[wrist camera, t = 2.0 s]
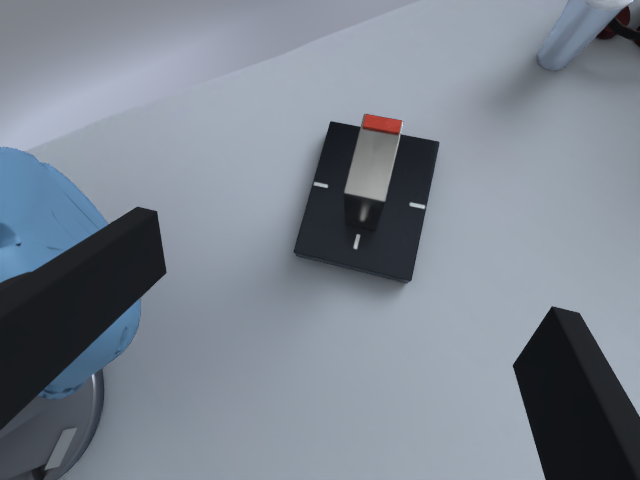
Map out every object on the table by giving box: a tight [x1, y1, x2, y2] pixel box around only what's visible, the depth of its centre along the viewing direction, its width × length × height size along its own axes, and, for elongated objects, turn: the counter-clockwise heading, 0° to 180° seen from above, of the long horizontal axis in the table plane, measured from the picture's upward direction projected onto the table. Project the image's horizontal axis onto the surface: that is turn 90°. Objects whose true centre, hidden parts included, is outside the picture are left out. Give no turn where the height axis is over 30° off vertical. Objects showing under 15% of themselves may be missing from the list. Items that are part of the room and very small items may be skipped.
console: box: [294, 121, 439, 283], centre depth 33 cm, size 14×11×2 cm
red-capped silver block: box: [344, 114, 404, 231], centre depth 28 cm, size 6×3×8 cm, turn 165°
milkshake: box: [537, 0, 634, 71], centre depth 32 cm, size 4×5×10 cm
